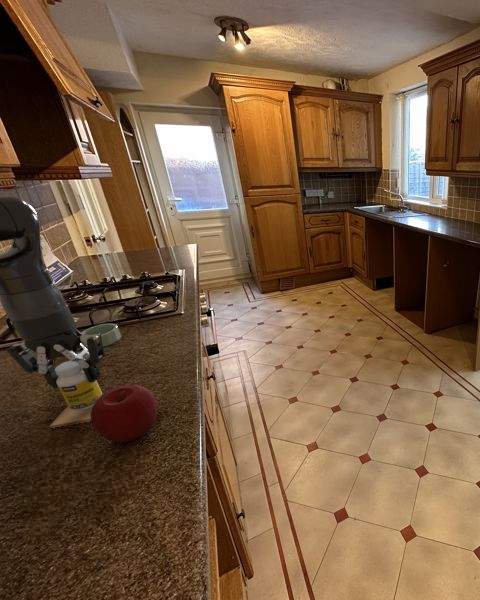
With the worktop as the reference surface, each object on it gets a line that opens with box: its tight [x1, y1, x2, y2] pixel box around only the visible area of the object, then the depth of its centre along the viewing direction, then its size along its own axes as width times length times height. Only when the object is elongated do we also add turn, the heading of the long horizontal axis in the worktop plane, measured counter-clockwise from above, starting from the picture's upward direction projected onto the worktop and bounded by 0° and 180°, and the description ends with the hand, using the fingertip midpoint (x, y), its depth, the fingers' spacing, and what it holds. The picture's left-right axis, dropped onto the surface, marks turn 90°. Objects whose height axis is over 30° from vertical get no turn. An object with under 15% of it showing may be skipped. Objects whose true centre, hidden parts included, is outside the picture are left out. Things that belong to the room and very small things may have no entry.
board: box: [49, 405, 93, 429], centre depth 69 cm, size 10×8×1 cm
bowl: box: [81, 323, 123, 353], centre depth 92 cm, size 8×8×5 cm
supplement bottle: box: [54, 360, 104, 411], centre depth 67 cm, size 5×5×10 cm
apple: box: [90, 384, 158, 443], centre depth 62 cm, size 10×10×10 cm
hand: (77, 382), depth 67 cm, fingers closed on supplement bottle, 5 cm apart
